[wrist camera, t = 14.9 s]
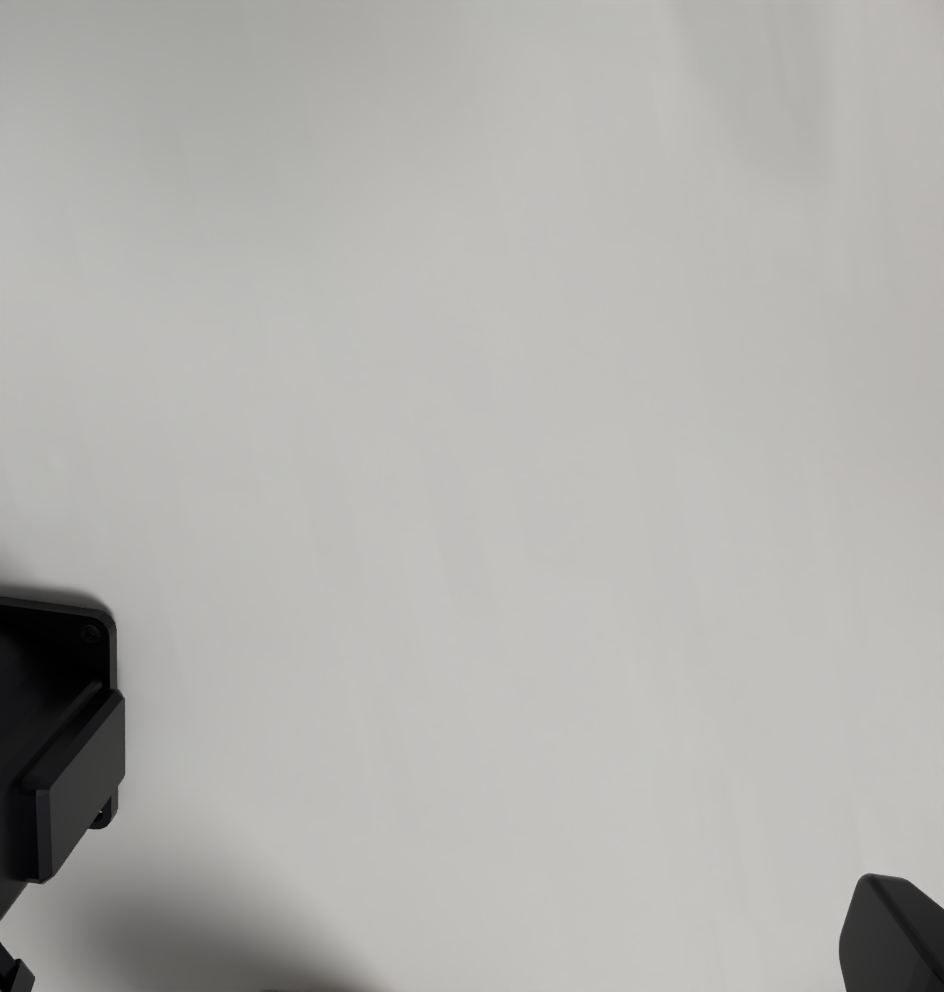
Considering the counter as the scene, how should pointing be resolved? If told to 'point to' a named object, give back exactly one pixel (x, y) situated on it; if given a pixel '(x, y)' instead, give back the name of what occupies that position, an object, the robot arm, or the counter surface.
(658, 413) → the counter surface
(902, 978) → the robot arm
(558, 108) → the counter surface
